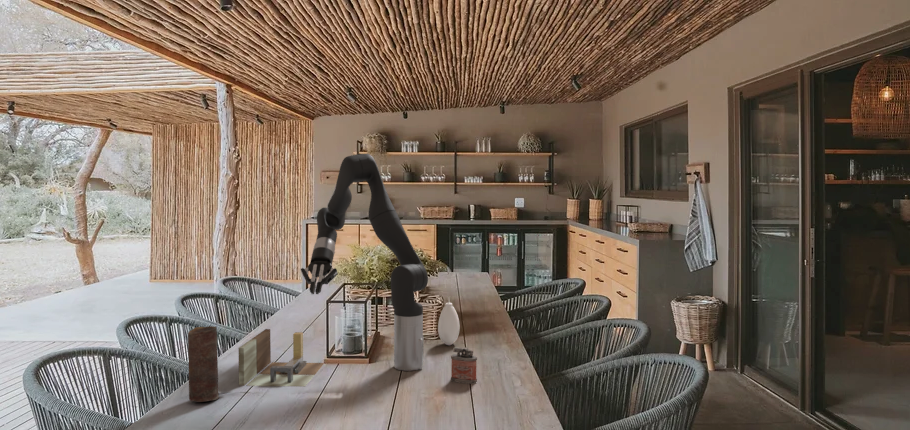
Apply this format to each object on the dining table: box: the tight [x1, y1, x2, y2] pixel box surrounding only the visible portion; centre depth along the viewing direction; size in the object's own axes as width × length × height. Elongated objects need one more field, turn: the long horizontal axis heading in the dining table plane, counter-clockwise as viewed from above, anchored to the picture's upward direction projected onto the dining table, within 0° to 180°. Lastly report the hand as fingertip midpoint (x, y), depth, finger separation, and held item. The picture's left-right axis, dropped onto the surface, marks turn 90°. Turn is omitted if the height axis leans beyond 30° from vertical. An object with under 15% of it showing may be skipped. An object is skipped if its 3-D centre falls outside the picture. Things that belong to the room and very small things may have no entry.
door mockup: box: [238, 328, 325, 387], centre depth 176 cm, size 19×22×12 cm
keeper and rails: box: [269, 360, 307, 383], centre depth 177 cm, size 6×17×4 cm, turn 178°
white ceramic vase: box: [437, 297, 461, 346], centre depth 214 cm, size 8×8×18 cm
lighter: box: [450, 346, 478, 384], centre depth 174 cm, size 8×3×10 cm, turn 71°
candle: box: [187, 325, 220, 403], centre depth 156 cm, size 8×7×20 cm
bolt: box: [285, 331, 304, 373], centre depth 181 cm, size 2×11×10 cm, turn 178°
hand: (314, 292), depth 197 cm, fingers closed
